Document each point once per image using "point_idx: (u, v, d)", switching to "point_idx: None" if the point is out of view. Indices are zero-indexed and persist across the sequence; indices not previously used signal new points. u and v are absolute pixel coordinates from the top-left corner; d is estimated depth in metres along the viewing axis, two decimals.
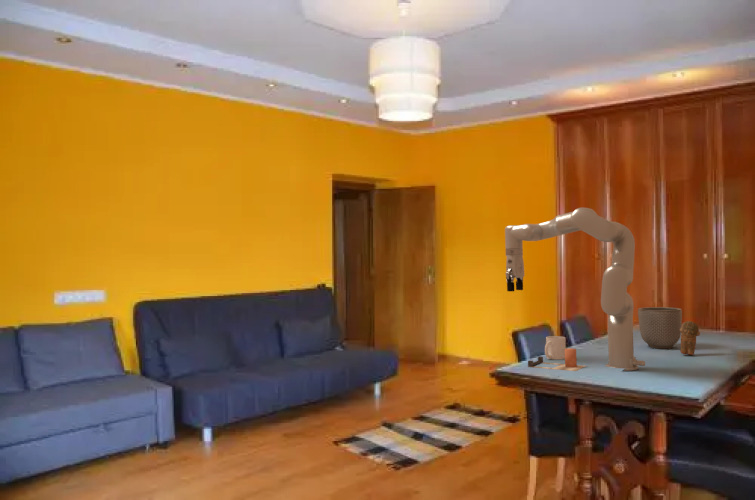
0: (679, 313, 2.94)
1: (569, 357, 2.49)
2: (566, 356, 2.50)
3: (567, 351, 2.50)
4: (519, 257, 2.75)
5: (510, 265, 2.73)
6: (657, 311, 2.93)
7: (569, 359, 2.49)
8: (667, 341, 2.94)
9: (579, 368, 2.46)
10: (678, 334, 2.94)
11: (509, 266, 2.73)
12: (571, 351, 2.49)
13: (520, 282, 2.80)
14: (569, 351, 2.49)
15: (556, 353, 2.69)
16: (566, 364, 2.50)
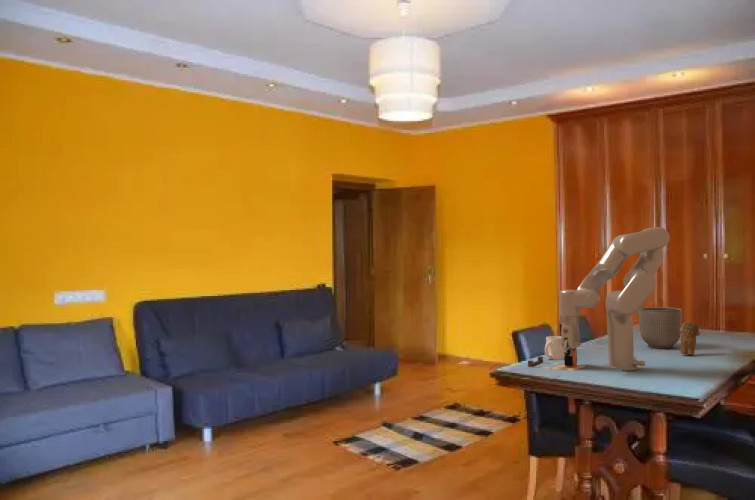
0: (679, 313, 2.94)
1: None
2: None
3: None
4: (575, 325, 2.49)
5: (566, 335, 2.47)
6: (657, 311, 2.93)
7: None
8: (667, 341, 2.94)
9: (579, 368, 2.46)
10: (678, 334, 2.94)
11: (564, 336, 2.47)
12: None
13: None
14: (569, 351, 2.49)
15: (556, 353, 2.69)
16: None
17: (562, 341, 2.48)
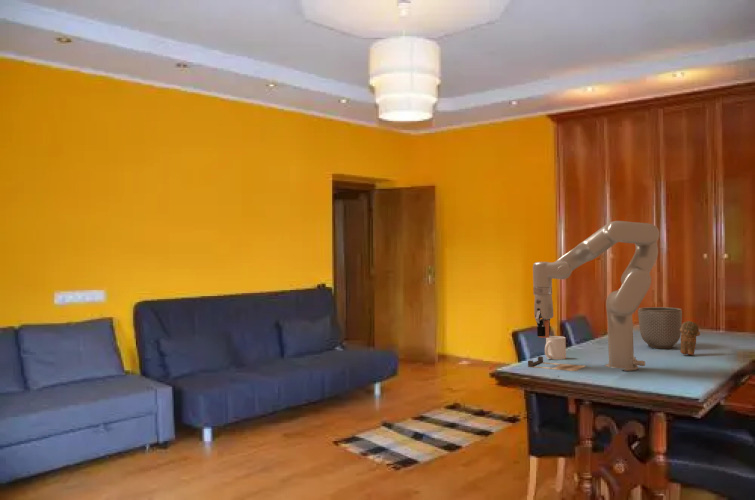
0: (679, 313, 2.94)
1: None
2: None
3: None
4: (548, 297, 2.53)
5: (539, 306, 2.51)
6: (657, 311, 2.93)
7: None
8: (667, 341, 2.94)
9: (579, 368, 2.46)
10: (678, 334, 2.94)
11: (537, 307, 2.51)
12: (544, 322, 2.53)
13: None
14: None
15: (556, 353, 2.69)
16: None
17: (535, 312, 2.52)
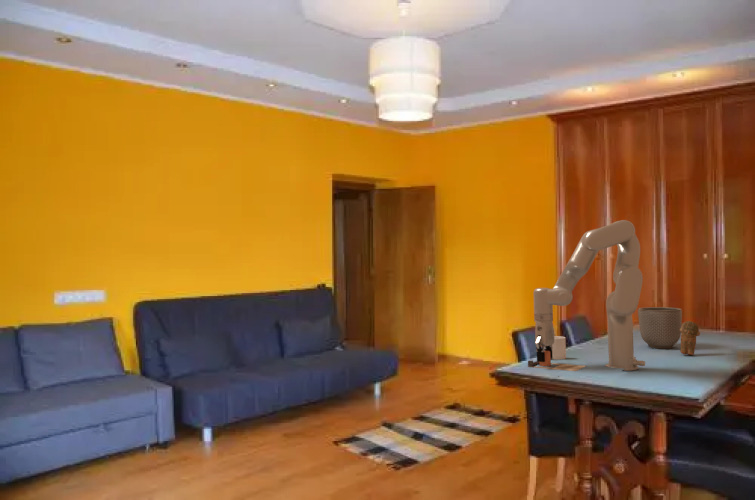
0: (679, 313, 2.94)
1: None
2: None
3: None
4: (549, 323, 2.53)
5: (540, 332, 2.51)
6: (657, 311, 2.93)
7: None
8: (667, 341, 2.94)
9: (579, 368, 2.46)
10: (678, 334, 2.94)
11: (538, 333, 2.51)
12: (545, 353, 2.53)
13: (549, 350, 2.58)
14: None
15: (556, 353, 2.69)
16: None
17: (536, 338, 2.52)
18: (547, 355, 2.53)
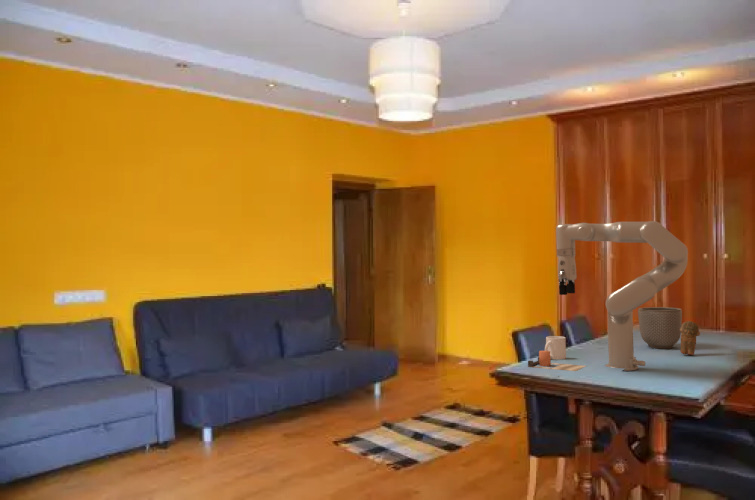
0: (679, 313, 2.94)
1: (543, 359, 2.53)
2: (540, 358, 2.54)
3: (541, 353, 2.54)
4: (572, 258, 2.57)
5: (562, 267, 2.55)
6: (657, 311, 2.93)
7: (543, 361, 2.53)
8: (667, 341, 2.94)
9: (579, 368, 2.46)
10: (678, 334, 2.94)
11: (561, 268, 2.55)
12: (545, 353, 2.53)
13: (572, 285, 2.62)
14: (543, 353, 2.53)
15: (556, 353, 2.69)
16: None
17: (559, 273, 2.56)
18: (547, 355, 2.53)
